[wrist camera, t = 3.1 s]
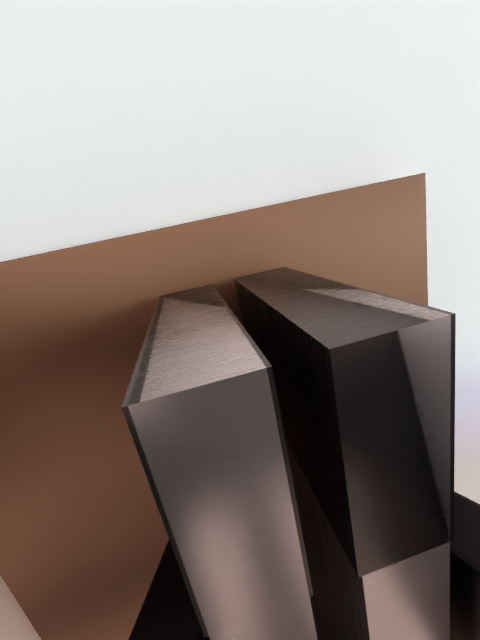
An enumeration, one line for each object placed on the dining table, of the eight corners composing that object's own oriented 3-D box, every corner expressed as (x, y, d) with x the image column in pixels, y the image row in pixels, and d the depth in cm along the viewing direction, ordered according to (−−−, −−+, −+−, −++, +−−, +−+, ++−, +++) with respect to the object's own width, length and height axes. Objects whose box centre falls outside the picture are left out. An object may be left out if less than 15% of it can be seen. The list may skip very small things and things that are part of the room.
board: (416, 636, 16) (434, 666, 14) (145, 752, 14) (142, 798, 13) (394, 180, 9) (425, 172, 8) (-121, 289, 7) (-175, 299, 6)
